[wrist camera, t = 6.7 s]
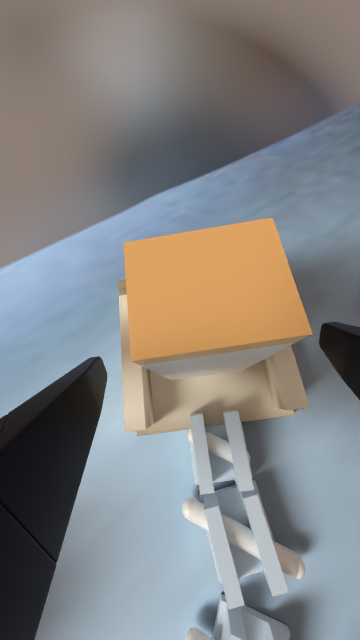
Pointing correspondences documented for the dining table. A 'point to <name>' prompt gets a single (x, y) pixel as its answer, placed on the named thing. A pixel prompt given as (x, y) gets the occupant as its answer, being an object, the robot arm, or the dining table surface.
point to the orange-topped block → (211, 300)
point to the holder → (206, 390)
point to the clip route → (235, 530)
